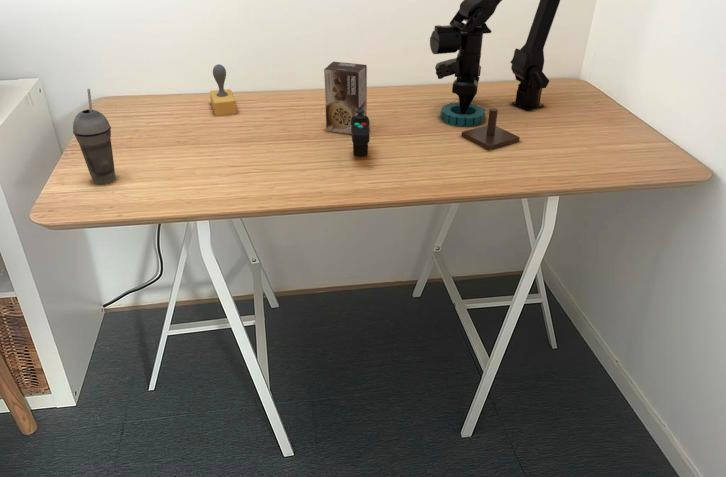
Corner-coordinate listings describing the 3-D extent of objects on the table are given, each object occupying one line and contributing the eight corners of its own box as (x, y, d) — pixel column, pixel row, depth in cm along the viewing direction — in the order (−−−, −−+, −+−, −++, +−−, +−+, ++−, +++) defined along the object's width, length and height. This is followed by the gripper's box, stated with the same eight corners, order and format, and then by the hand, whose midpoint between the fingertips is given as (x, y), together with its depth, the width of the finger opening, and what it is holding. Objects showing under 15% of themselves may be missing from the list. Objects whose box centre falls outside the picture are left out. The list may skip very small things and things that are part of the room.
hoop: (464, 108, 171) (465, 99, 169) (493, 121, 163) (494, 112, 161) (432, 115, 165) (432, 107, 164) (459, 130, 157) (460, 121, 156)
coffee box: (367, 126, 159) (368, 64, 150) (359, 136, 153) (359, 72, 145) (334, 122, 161) (333, 60, 152) (325, 131, 156) (323, 67, 147)
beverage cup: (91, 172, 135) (69, 83, 124) (125, 171, 136) (106, 82, 125) (81, 188, 129) (57, 95, 118) (117, 187, 130) (96, 95, 119)
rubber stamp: (211, 103, 172) (205, 60, 166) (232, 101, 174) (227, 58, 167) (215, 115, 164) (209, 71, 158) (237, 113, 166) (232, 69, 159)
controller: (368, 146, 148) (369, 106, 143) (370, 168, 138) (370, 126, 133) (350, 146, 148) (350, 106, 143) (351, 168, 138) (350, 126, 133)
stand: (491, 128, 159) (494, 99, 154) (519, 141, 151) (523, 111, 147) (461, 136, 154) (464, 106, 150) (488, 150, 147) (492, 119, 143)
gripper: (442, 39, 168) (438, 95, 176) (434, 59, 152) (430, 118, 161) (483, 42, 166) (477, 98, 174) (479, 62, 151) (473, 122, 159)
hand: (464, 108), depth 167 cm, fingers open, 7 cm apart
